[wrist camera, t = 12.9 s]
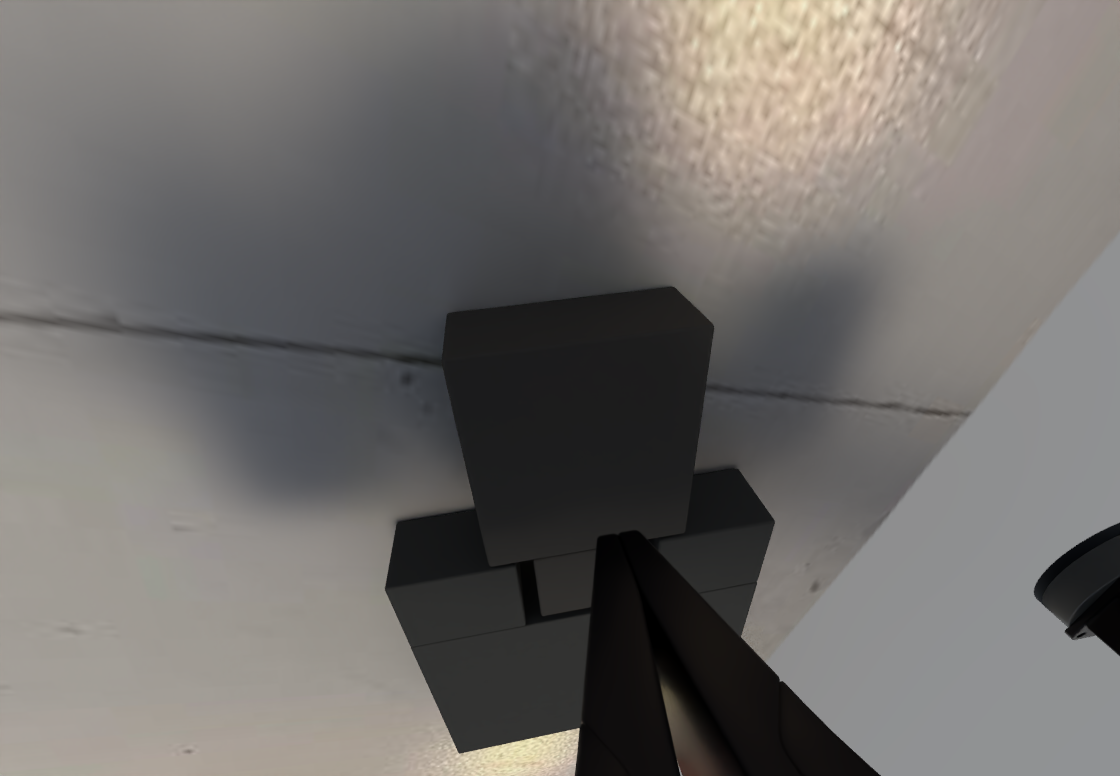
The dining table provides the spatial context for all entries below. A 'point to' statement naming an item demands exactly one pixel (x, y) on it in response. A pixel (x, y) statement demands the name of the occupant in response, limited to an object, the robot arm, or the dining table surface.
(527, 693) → the base pad
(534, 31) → the dining table surface
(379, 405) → the dining table surface
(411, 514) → the dining table surface
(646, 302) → the pad
